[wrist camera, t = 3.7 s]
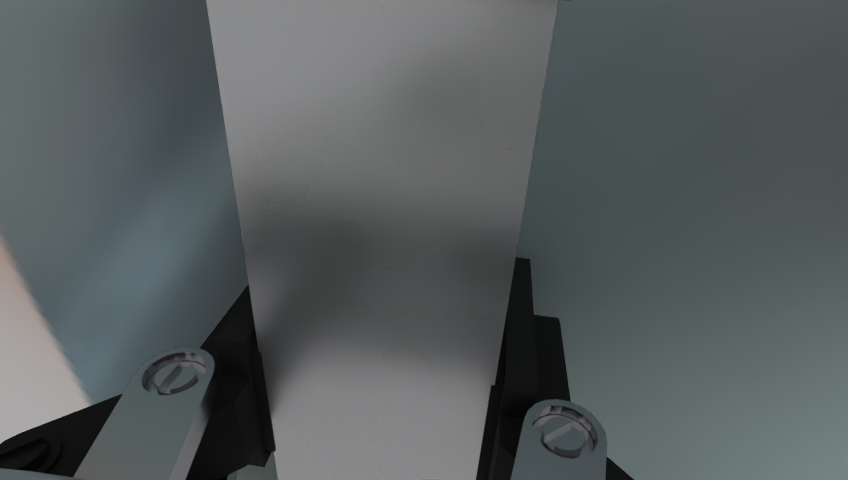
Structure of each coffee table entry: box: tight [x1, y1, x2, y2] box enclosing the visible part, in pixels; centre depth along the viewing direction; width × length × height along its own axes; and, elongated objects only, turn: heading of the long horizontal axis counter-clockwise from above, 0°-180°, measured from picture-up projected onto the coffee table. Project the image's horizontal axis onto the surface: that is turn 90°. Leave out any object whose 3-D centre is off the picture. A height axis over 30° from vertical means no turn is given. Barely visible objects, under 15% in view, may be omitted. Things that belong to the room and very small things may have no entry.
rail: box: [206, 0, 570, 480], centre depth 11 cm, size 4×16×4 cm, turn 177°
